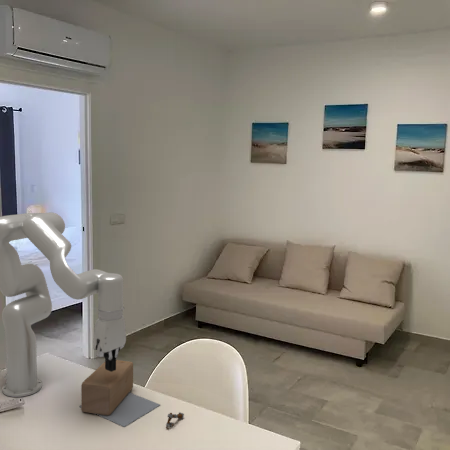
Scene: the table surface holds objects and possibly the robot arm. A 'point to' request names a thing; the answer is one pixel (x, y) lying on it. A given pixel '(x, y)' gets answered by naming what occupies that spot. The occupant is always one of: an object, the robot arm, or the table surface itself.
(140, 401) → the mat
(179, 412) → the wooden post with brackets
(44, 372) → the table surface
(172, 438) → the table surface
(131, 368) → the wooden block
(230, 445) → the table surface
